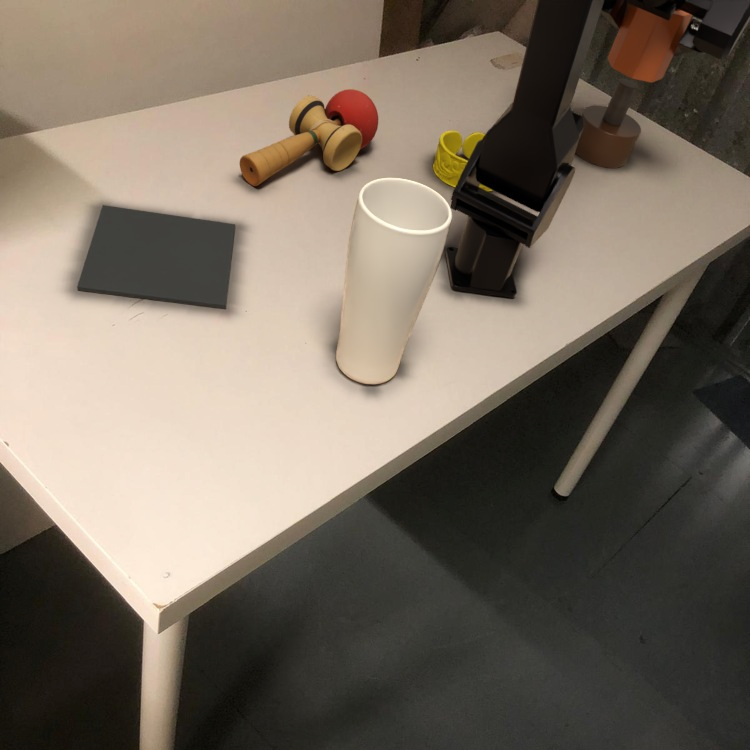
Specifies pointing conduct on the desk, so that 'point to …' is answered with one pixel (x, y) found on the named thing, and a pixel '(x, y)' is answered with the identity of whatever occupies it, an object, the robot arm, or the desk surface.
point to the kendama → (318, 134)
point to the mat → (159, 257)
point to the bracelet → (454, 156)
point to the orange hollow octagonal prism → (646, 43)
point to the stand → (610, 129)
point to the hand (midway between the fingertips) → (650, 39)
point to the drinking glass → (388, 273)
